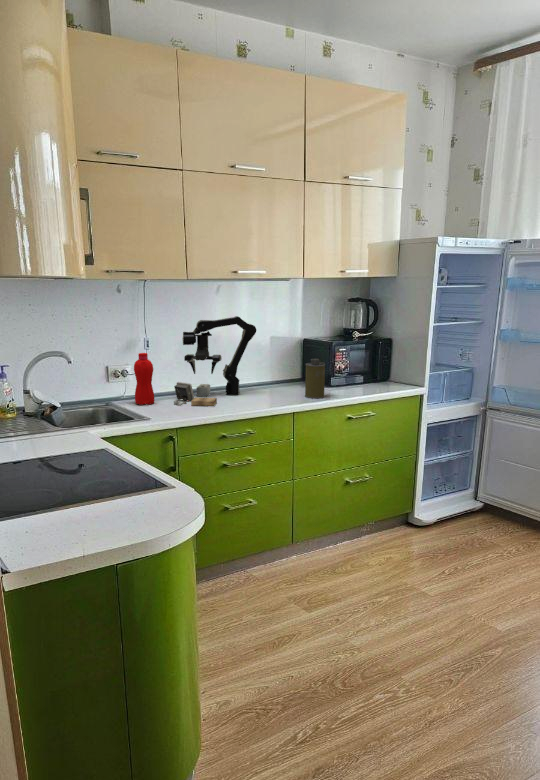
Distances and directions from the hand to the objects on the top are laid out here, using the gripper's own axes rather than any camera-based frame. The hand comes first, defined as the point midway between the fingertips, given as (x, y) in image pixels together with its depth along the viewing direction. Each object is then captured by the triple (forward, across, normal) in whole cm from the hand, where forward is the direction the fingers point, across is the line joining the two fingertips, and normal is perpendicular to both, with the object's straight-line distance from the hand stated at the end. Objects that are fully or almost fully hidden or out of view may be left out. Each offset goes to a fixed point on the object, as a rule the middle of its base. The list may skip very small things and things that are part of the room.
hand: (203, 374), depth 290 cm
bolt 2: (+11, -6, -22) cm, 25 cm away
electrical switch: (+12, -7, -13) cm, 19 cm away
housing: (+12, 0, 0) cm, 12 cm away
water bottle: (+12, -25, -22) cm, 35 cm away
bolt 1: (+11, -7, -25) cm, 28 cm away
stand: (+11, +5, -22) cm, 25 cm away
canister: (+12, +59, +4) cm, 60 cm away
